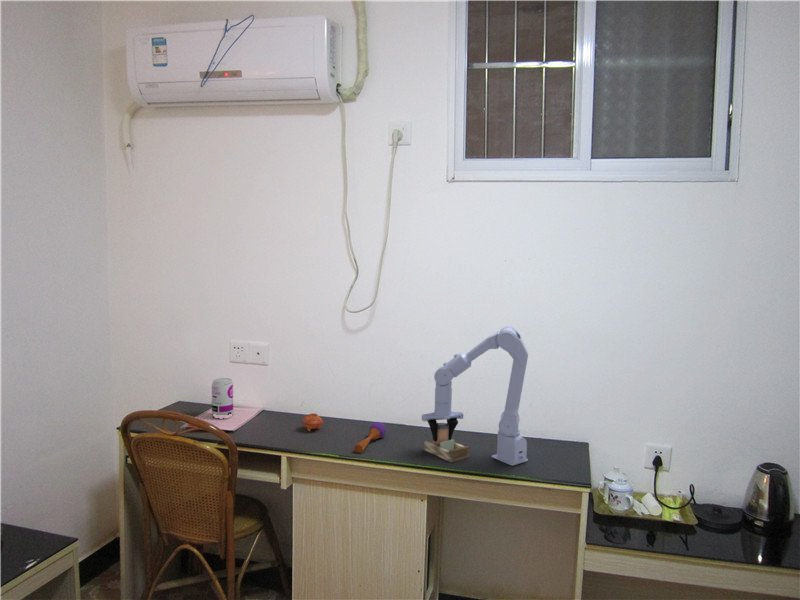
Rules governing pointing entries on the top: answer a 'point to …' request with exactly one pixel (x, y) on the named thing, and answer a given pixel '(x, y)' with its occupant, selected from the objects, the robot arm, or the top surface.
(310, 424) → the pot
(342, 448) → the top surface
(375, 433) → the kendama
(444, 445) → the pusher
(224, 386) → the supplement can
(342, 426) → the top surface
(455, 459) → the tray
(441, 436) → the jar
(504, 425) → the robot arm
